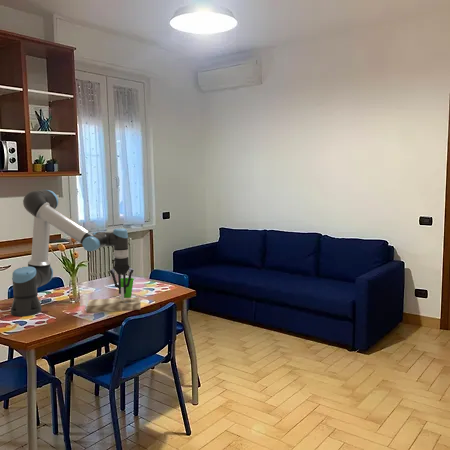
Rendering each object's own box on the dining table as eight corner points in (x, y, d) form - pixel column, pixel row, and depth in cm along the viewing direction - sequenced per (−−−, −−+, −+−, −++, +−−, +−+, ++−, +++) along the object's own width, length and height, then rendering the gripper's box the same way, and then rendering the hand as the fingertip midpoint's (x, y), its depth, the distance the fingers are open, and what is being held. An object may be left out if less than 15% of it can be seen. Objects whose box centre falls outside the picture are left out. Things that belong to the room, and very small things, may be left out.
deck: (87, 312, 247) (86, 306, 247) (89, 305, 259) (89, 299, 259) (140, 309, 252) (140, 303, 252) (140, 303, 264) (140, 297, 264)
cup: (115, 298, 273) (115, 280, 272) (125, 294, 281) (125, 277, 280) (127, 300, 269) (127, 282, 268) (137, 296, 277) (137, 278, 276)
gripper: (108, 258, 247) (110, 302, 250) (133, 257, 249) (134, 300, 252) (109, 256, 254) (110, 298, 257) (133, 255, 257) (134, 296, 260)
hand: (122, 299), depth 255 cm, fingers closed
